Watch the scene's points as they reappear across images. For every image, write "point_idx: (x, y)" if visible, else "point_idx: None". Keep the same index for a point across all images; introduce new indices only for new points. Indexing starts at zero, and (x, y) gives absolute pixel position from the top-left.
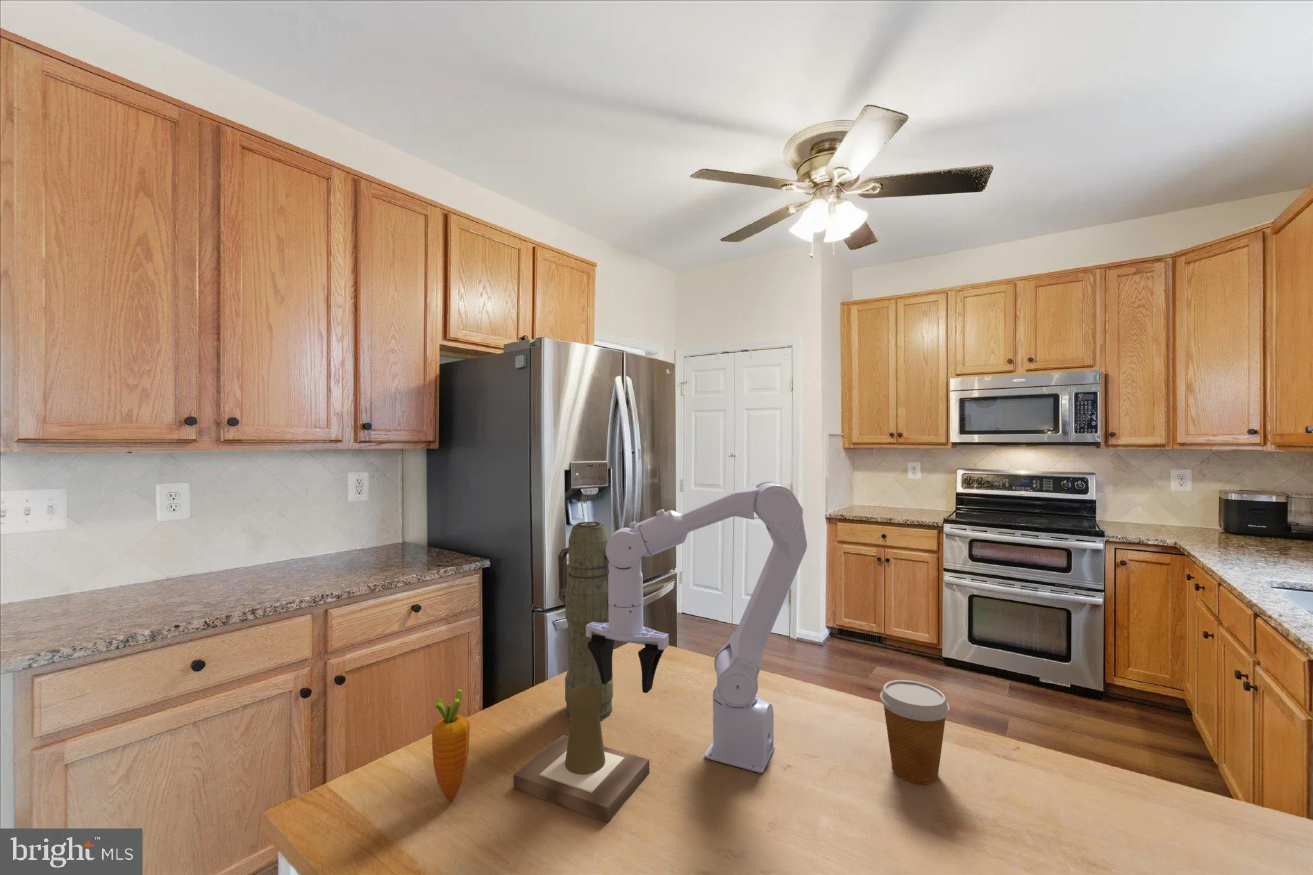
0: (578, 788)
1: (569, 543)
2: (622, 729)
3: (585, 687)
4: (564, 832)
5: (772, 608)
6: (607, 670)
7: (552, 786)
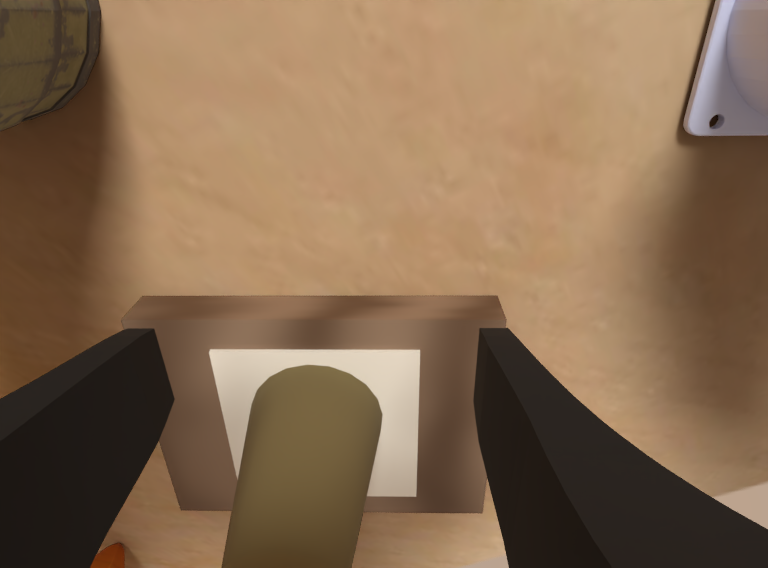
0: (374, 494)
1: None
2: (245, 79)
3: None
4: (403, 525)
5: None
6: (121, 432)
7: None
